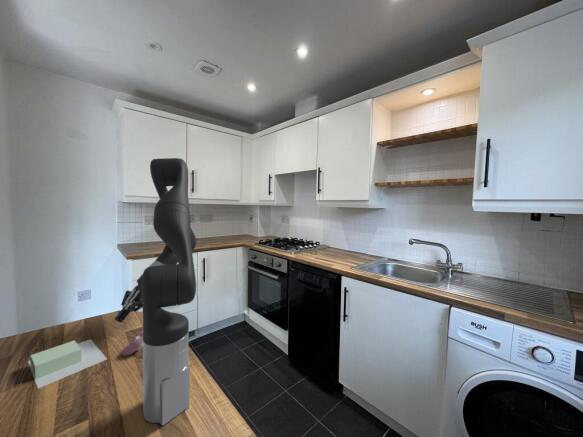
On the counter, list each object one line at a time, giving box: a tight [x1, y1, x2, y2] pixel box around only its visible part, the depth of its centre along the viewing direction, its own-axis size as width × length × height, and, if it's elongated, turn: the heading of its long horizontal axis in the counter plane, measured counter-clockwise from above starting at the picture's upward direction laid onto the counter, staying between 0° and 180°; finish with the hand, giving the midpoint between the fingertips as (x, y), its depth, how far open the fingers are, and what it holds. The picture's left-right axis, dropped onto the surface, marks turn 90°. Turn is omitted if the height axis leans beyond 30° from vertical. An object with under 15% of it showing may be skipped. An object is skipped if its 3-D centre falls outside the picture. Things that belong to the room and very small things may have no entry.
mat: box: [27, 339, 108, 389], centre depth 68 cm, size 16×14×1 cm
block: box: [29, 340, 81, 380], centre depth 66 cm, size 7×4×9 cm
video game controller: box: [121, 329, 143, 356], centre depth 75 cm, size 10×5×7 cm, turn 0°
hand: (117, 321), depth 78 cm, fingers closed
